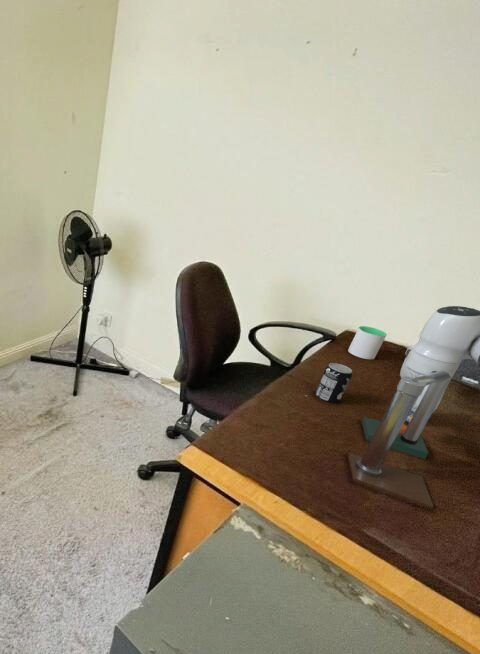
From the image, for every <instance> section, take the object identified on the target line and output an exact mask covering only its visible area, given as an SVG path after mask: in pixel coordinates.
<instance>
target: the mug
mask: <svg viewBox="0 0 480 654" xmlns="http://www.w3.org/2000/svg"><path fill="white" fill-rule="evenodd" d="M386 338H387V333H386V332H385V331H383V330H381V329H379V328H376V327H372V326H366V325H361V326H359V327H358V328H357V331H356V333H355V335H354V337H353V339H352V340H351V342H350V345H349V347H348V350H347V352H348V353H349V354H351V355H353V356H355V357H357V358H360V359H364V360H375V358H377V357H376V356H377V354H378V352H379V351H380V349H381V347H382V345H383V344H384V340H385V339H386Z"/></svg>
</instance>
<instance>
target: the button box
mask: <svg viewBox="0 0 480 654" xmlns="http://www.w3.org/2000/svg"><path fill="white" fill-rule="evenodd" d="M380 422H381V420H377V419H374V418H370V417H367V416H364V417H362V420H361V424H362V428H363V433H364V436H365V440H366V441H368V442H369V443H370V442H371V440H372V438H373V436H374V434H375V432H376V430H377V428H378V426H379V424H380ZM421 434H422V433H421ZM421 434H420V436H419V437H418V439H417V440H418V442H417V443H416V444H415V445H412V444H408V443H406V442H404V441H402V440H401V439H400V437H401V435H402V434H401V433H399V434H398V436H397V438H396V439H395V441H394V443H393V445H392V447H391V449H390V450H394V451H398V452H401V453H404V454H407V455H410V456H412V457H416V458H420V459H423V460H426V458H427V457H428V455H429V451H428V449H427V446H426V444H425V441H424V439H423V436H422V435H421Z"/></svg>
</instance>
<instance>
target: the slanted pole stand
mask: <svg viewBox="0 0 480 654" xmlns="http://www.w3.org/2000/svg"><path fill="white" fill-rule="evenodd" d="M418 397H419V396H412V395H408V394H405V393H403V392H401V391H399V390H398V389H397V388H396V391H395V392H394V394H393V396H392V399H391V400H390V402H389V404H388V406H387V408H386V410H385V412H384V414H383V416H382V418H381V420H380V421H381V422H380V424H379V426H378V428H377V430H376V432H375V434H374V436H373V438H372V440H371V442H370V441H369V443H368V445H367V448H366V449H365V452H363V453H364V454H363V455H362V456H361V455H358V454H356V453H352V452H349V453H348V456H347V458H348V463H349V468H350V472H351V473H350V474H351V478H352V481H353V482H356V483H359V484H361V485H364V486H366V487H369V488H373V489H374V490H378V491H381V492H383V493H386V494H388V495H389V494H390V495H392V496H395V497H398V498H401V499H403V500H406V501H409V502H412V503H415V504H418V505H421V506H423V507H426V508H429V509H434V503H433V500H432V498H431V496H430V493H429V490H428V488H427V485H426V483H425V480H424V478H423V476H421V475H419V474H416V473H413V472H409V471H406V470H403V469H401V468H397V467H394V466H391V465H388V464H385V463H384V462H385V460H386V459H387V456H388V454H389V453H390V450H392V449H391V447H392V445H393V443H394V441H395V439H396V438H397V436H398V434H399V432H400V430H401V428H402V426H403V425H404V424H405V423H406V422H407V421H406V419H407V417H408V415H409V413H410V411H411V410H412V408H413V406H414V404H415V402H416V400H417V398H418Z"/></svg>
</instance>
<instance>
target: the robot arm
mask: <svg viewBox="0 0 480 654" xmlns="http://www.w3.org/2000/svg"><path fill="white" fill-rule="evenodd" d="M404 354H405V358H404V361H403V363H402V365H401V368H400V371H399V372H400V373H399V377H400V379H401V378H402V377H404V376H407V377H413V378H416V377H420V376H424V375H428V374H431V373H435V372H439V371H445V372H447V373H449V375H450V376H451V377H452V378H453V377H454V375H455V374H456V372H457V370H458V368H459V366H460V365H461V363H462V362H463V360H471V361H474V362H475V363H476V364H477V365H478V367H480V310H479V309H476V308H473V307H472V308H471V307H468V306H460V305H447V306H443V307H439V308H438V309H436V310H435V311H434V312H433V313H432V314H431V315H430V317H429V318H428V319H427V320H426V323H424V326H423V327H422V329H421V331H420V333H419V338H418V341H417V342H416V343H415V344H414V345H413V347H408V348H406V351H405V352H404ZM428 387H429V385H427V386H425V388H424V390H423V392H422V394H421V395H420V396H419V397H418V398H417V400H416V402H415V404H414V406H413V408H412V410H414V408H418V406H419V404H420V402H421V400H422V398H423V397H424V395H425V393H426V391H427V389H428ZM445 392H446V390H445V391H444V393H443V395H442V397H441V398H440V400H439V402H438V404H437V405H436V407H435V409H434V411H433V413H434V412H435V411H436V410H437V409H438V407H439V405H440V403H441V402H442V399H443V397H444V395H445Z"/></svg>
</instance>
